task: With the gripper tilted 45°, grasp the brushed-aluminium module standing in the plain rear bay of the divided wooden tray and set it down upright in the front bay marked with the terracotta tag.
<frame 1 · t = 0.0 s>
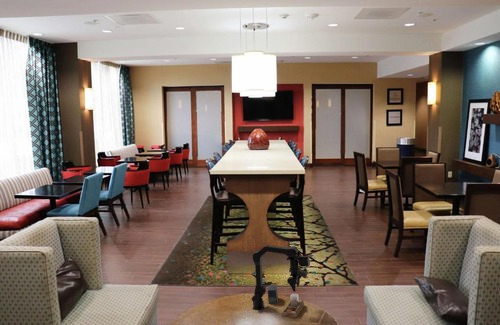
hand: (296, 288, 295), 15 cm above the table, tool pointing down, fingers open, 9 cm apart
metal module: (295, 307, 299), point 1 cm above the table, touching divided wooden tray
divided wooden tray: (293, 311, 294), on the table
small box: (273, 301, 315), on the table
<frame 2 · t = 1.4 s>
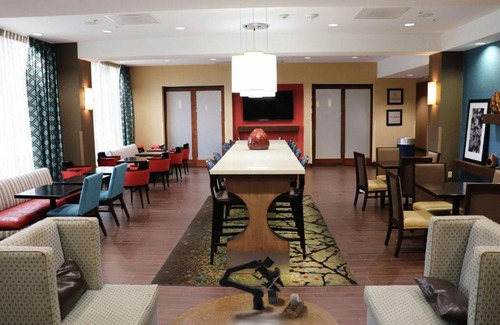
hand: (282, 289, 301), 14 cm above the table, tool tilted 45°, fingers open, 9 cm apart
nothing on the table moved.
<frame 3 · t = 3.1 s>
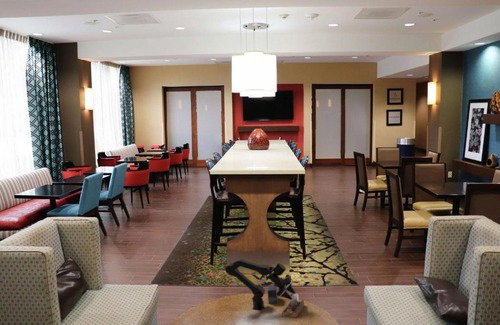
hand: (293, 296, 298), 9 cm above the table, tool tilted 45°, fingers open, 9 cm apart
nothing on the table moved.
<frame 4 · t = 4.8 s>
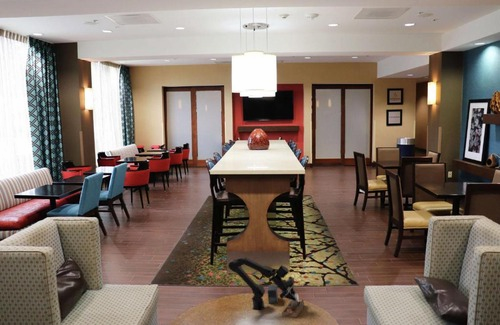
hand: (296, 299, 298), 7 cm above the table, tool tilted 45°, fingers closed on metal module, 4 cm apart
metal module: (295, 307, 299), point 1 cm above the table, touching gripper, divided wooden tray
everything else where it was.
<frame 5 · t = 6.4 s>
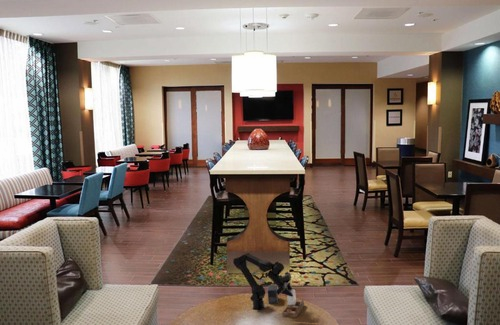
hand: (293, 294, 291), 13 cm above the table, tool tilted 45°, fingers closed on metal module, 4 cm apart
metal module: (292, 304, 292), point 6 cm above the table, touching gripper
everything else where it was.
when the fingers open (8 cm above the table, at t = 8.3 s): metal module drops 1 cm, resting on divided wooden tray.
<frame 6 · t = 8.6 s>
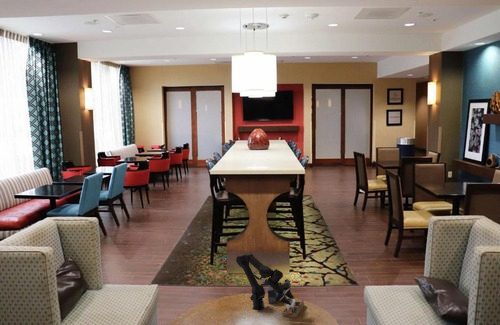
hand: (292, 302, 289), 9 cm above the table, tool tilted 45°, fingers open, 8 cm apart
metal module: (291, 313, 290), point 1 cm above the table, touching divided wooden tray
everything else where it was.
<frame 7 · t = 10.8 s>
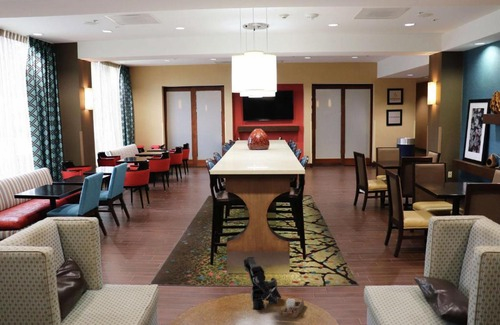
hand: (278, 300, 293), 9 cm above the table, tool tilted 45°, fingers open, 9 cm apart
nothing on the table moved.
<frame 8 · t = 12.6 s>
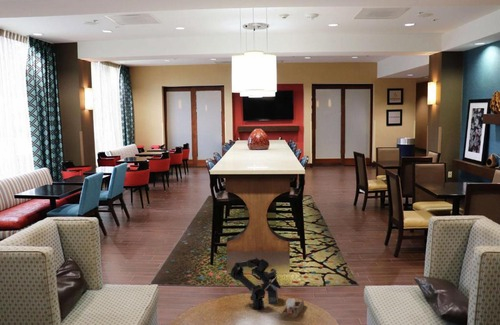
hand: (278, 290, 298), 14 cm above the table, tool tilted 45°, fingers open, 9 cm apart
nothing on the table moved.
at the end: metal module 0.0 cm from the target spot on the divided wooden tray, point 1.0 cm above the divided wooden tray's base; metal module tilted 0°; the gripper is holding nothing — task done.
